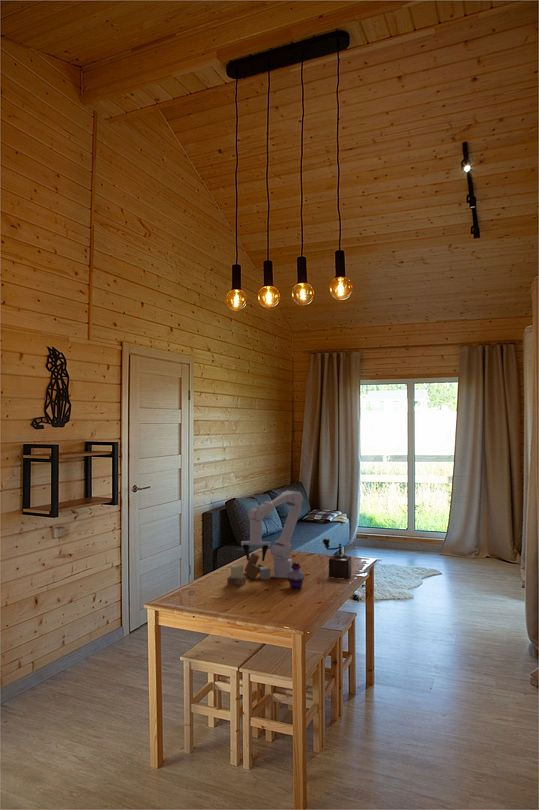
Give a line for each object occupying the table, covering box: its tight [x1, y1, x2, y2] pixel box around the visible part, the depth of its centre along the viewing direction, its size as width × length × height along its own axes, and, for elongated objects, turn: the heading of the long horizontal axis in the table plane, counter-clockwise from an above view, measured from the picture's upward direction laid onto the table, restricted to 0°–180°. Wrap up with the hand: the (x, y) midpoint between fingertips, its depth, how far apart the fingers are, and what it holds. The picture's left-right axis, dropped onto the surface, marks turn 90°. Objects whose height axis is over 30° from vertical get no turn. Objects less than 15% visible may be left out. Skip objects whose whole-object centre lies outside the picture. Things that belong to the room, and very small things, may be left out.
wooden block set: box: [243, 552, 265, 580], centre depth 280 cm, size 18×9×10 cm, turn 175°
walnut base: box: [226, 574, 247, 588], centre depth 262 cm, size 7×7×4 cm
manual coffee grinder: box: [322, 538, 352, 580], centre depth 280 cm, size 16×11×18 cm
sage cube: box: [230, 564, 244, 578], centre depth 263 cm, size 5×5×5 cm
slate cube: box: [259, 566, 271, 580], centre depth 274 cm, size 5×5×5 cm
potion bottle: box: [287, 561, 306, 590], centre depth 257 cm, size 9×9×12 cm
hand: (255, 560), depth 268 cm, fingers open, 7 cm apart
